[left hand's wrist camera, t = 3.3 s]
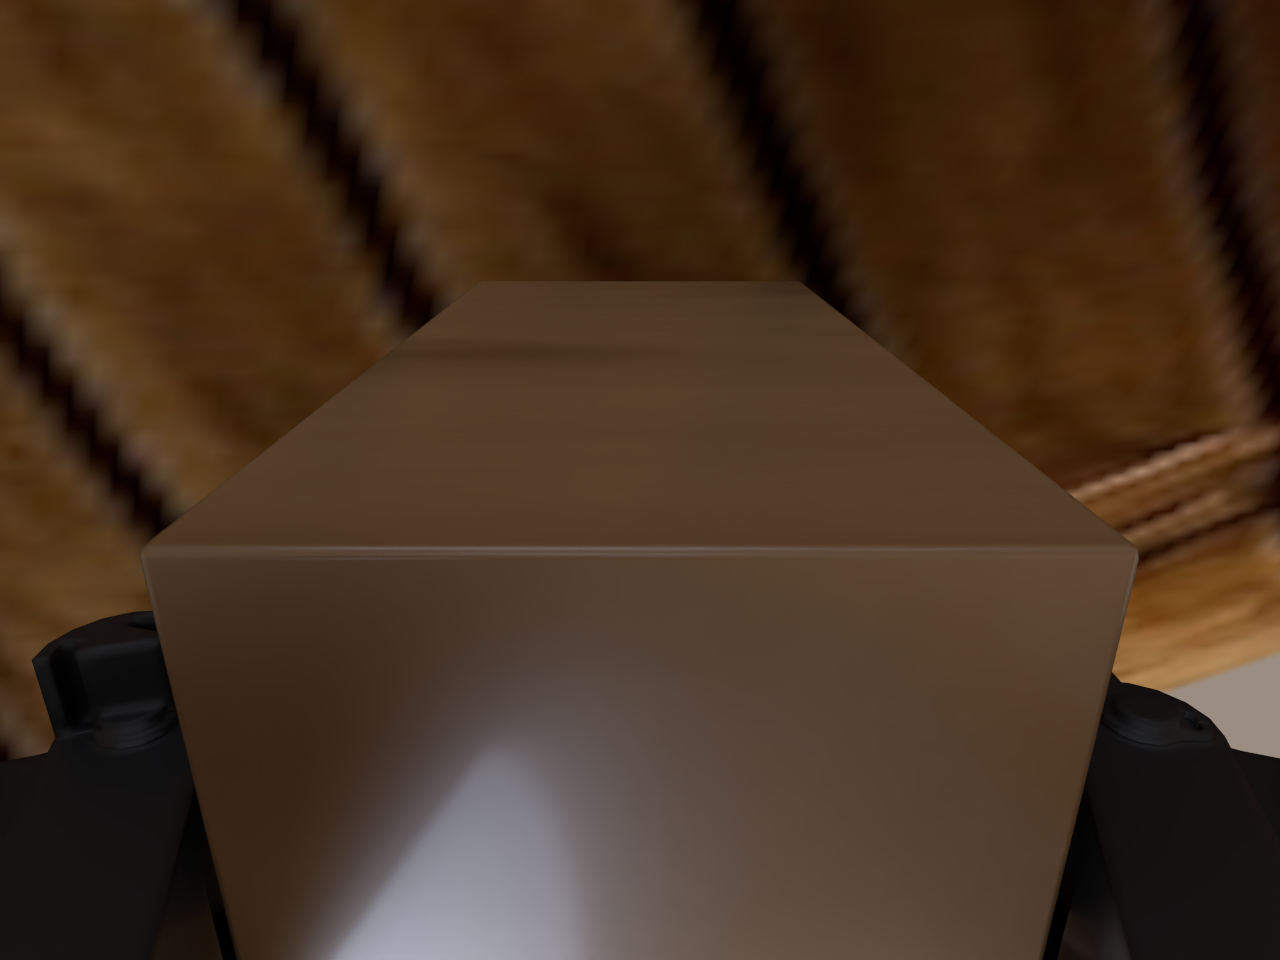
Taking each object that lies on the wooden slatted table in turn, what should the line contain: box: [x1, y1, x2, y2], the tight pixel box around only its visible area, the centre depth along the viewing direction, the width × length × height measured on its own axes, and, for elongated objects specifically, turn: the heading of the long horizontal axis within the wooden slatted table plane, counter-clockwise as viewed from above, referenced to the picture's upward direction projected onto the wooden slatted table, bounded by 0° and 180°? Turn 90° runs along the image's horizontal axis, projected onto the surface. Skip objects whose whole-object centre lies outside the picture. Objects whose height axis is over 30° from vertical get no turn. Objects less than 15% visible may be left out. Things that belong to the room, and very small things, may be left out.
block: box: [140, 281, 1139, 960], centre depth 11 cm, size 7×6×11 cm
